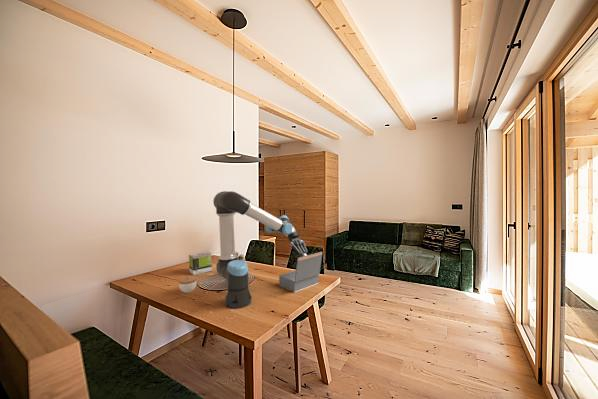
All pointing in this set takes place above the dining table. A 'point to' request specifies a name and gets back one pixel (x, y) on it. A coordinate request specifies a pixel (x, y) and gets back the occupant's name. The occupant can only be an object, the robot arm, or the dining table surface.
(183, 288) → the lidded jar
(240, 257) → the owl figurine
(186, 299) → the dining table surface
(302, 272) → the lid
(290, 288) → the mailer box
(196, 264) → the tea box
